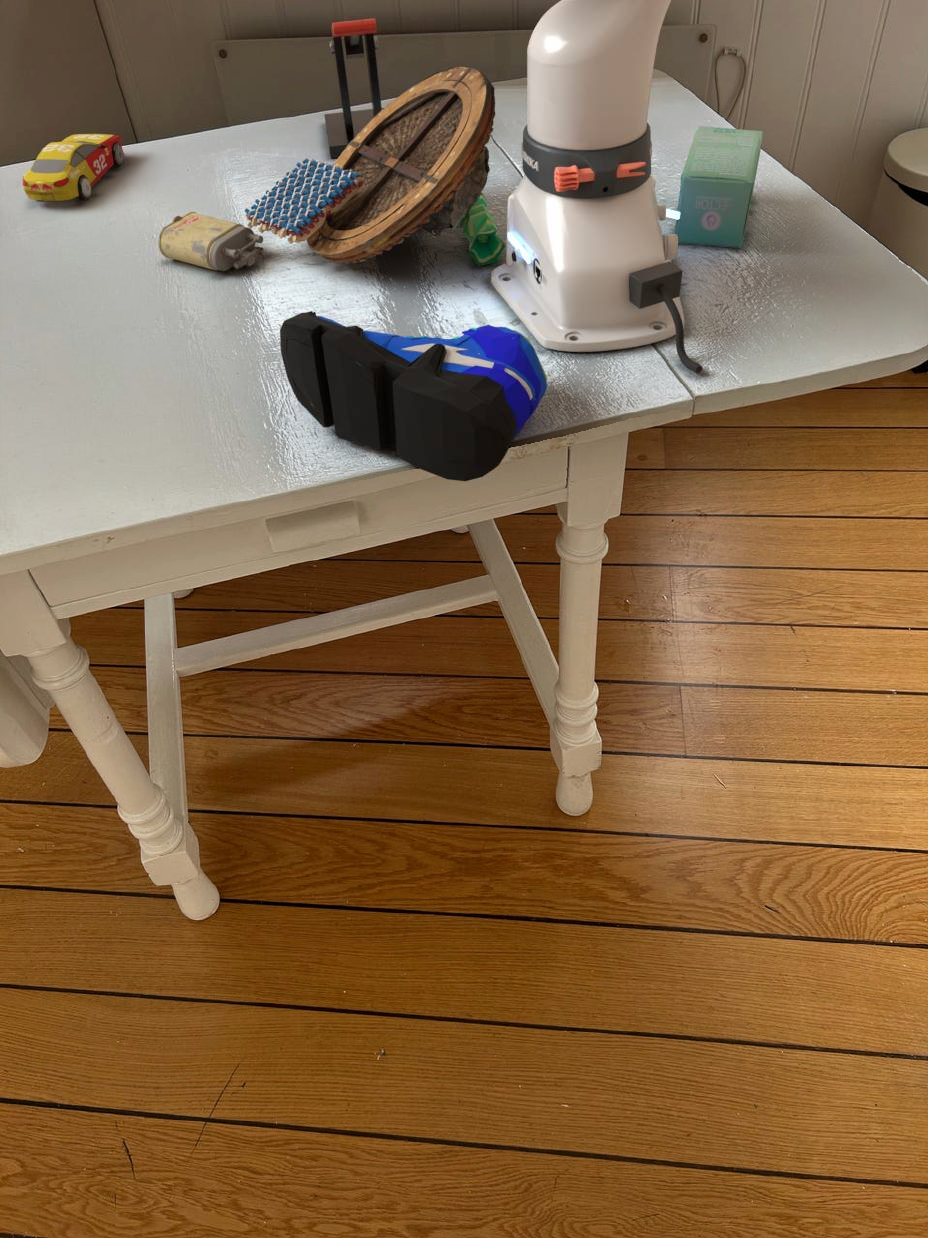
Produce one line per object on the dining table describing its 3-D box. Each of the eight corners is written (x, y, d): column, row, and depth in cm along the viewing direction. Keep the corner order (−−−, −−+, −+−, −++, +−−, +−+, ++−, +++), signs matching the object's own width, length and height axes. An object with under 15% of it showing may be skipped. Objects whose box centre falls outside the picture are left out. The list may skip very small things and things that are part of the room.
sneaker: (266, 409, 82) (375, 344, 91) (488, 503, 72) (585, 421, 81) (251, 308, 76) (369, 250, 85) (492, 397, 66) (597, 320, 75)
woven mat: (312, 169, 104) (304, 152, 103) (371, 185, 98) (363, 168, 96) (246, 228, 102) (236, 212, 100) (301, 249, 96) (292, 232, 94)
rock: (433, 278, 98) (516, 259, 101) (431, 177, 90) (521, 160, 93) (368, 217, 108) (445, 201, 111) (361, 122, 101) (444, 108, 104)
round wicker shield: (450, 71, 107) (300, 233, 112) (433, 47, 105) (282, 214, 110) (542, 110, 89) (359, 303, 93) (524, 83, 87) (338, 281, 91)
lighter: (161, 262, 103) (232, 282, 100) (152, 228, 101) (224, 247, 97) (204, 236, 108) (273, 254, 104) (196, 203, 105) (267, 220, 101)
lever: (377, 36, 108) (374, 11, 107) (334, 40, 108) (331, 16, 107) (374, 56, 120) (372, 34, 119) (335, 60, 119) (332, 38, 118)
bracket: (406, 150, 122) (396, 38, 113) (330, 158, 121) (314, 47, 112) (397, 117, 130) (387, 11, 121) (325, 125, 129) (310, 19, 120)
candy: (472, 178, 104) (492, 207, 107) (447, 197, 105) (467, 225, 108) (489, 223, 96) (510, 254, 99) (462, 244, 97) (484, 273, 100)
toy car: (133, 154, 126) (122, 114, 122) (78, 212, 114) (64, 170, 110) (80, 153, 127) (67, 113, 123) (20, 210, 115) (4, 168, 112)
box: (671, 245, 100) (680, 173, 95) (687, 192, 109) (696, 124, 103) (742, 251, 99) (755, 178, 93) (751, 197, 107) (764, 128, 102)
